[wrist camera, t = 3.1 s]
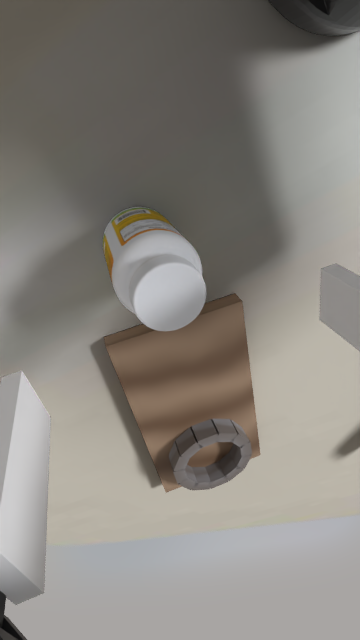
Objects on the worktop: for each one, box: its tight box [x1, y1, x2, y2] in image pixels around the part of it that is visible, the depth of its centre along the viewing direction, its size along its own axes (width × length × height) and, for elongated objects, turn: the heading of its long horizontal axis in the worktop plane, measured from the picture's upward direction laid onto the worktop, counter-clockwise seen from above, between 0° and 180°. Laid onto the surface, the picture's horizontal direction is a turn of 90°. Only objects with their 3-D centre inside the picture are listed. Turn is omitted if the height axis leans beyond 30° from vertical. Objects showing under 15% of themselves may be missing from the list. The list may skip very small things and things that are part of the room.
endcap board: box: [104, 294, 260, 492], centre depth 34 cm, size 22×12×4 cm, turn 12°
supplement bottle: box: [103, 207, 206, 331], centre depth 22 cm, size 5×5×10 cm
